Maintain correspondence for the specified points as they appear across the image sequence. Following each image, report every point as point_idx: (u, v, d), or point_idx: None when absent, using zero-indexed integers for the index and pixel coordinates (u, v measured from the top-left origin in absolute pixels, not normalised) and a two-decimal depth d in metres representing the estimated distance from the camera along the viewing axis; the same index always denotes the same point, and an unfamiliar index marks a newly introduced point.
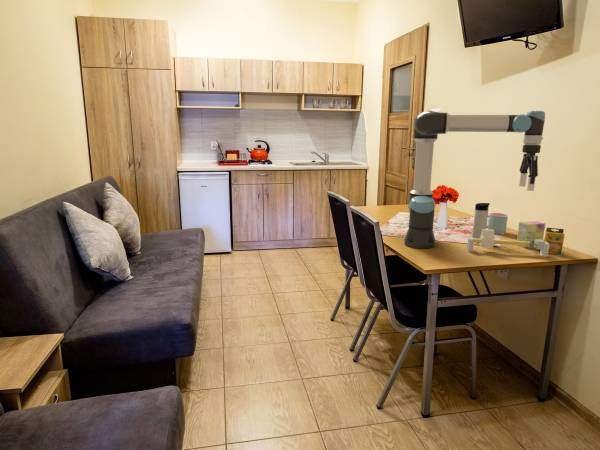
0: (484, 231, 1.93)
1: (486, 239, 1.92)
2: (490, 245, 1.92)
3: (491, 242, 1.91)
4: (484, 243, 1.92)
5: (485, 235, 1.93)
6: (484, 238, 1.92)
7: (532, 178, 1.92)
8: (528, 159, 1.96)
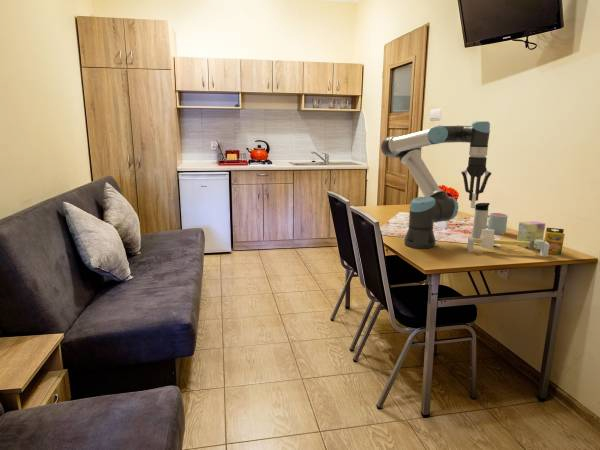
0: (484, 231, 1.93)
1: (486, 239, 1.92)
2: (490, 245, 1.92)
3: (491, 242, 1.91)
4: (484, 243, 1.92)
5: (485, 235, 1.93)
6: (484, 238, 1.92)
7: (469, 194, 1.91)
8: None
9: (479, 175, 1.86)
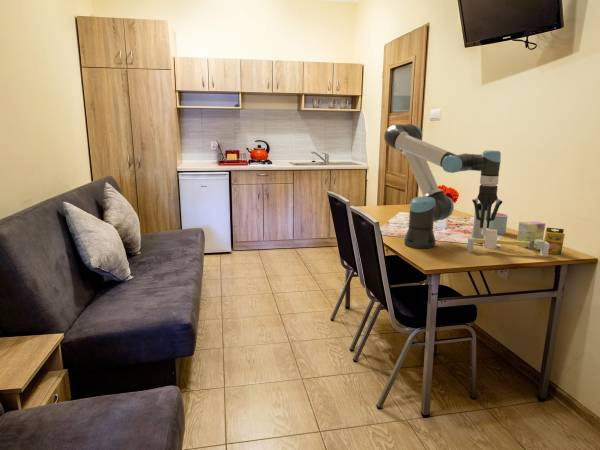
0: (487, 232, 1.92)
1: (489, 239, 1.91)
2: (493, 245, 1.92)
3: (494, 242, 1.91)
4: (487, 243, 1.92)
5: (488, 235, 1.93)
6: (487, 238, 1.91)
7: (480, 222, 1.93)
8: None
9: (490, 203, 1.88)
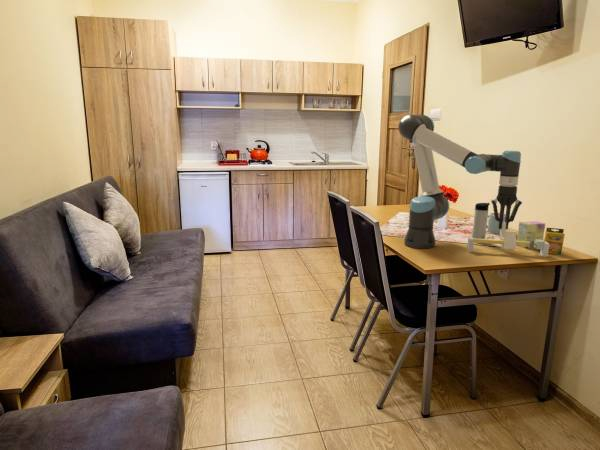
0: (506, 233, 1.91)
1: (508, 240, 1.90)
2: (512, 246, 1.90)
3: (513, 243, 1.89)
4: (506, 244, 1.90)
5: (507, 236, 1.91)
6: (506, 239, 1.90)
7: (499, 223, 1.91)
8: None
9: (509, 204, 1.86)
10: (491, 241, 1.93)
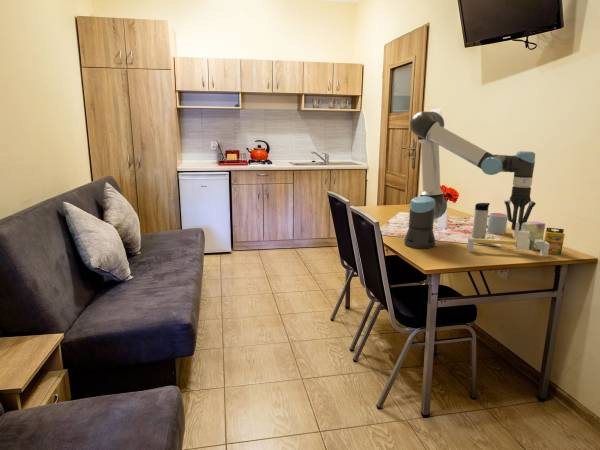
0: (519, 233, 1.90)
1: (521, 241, 1.88)
2: (525, 247, 1.89)
3: (527, 244, 1.88)
4: (519, 245, 1.89)
5: (520, 237, 1.90)
6: (519, 240, 1.88)
7: (512, 223, 1.90)
8: None
9: (523, 205, 1.85)
10: (491, 241, 1.93)
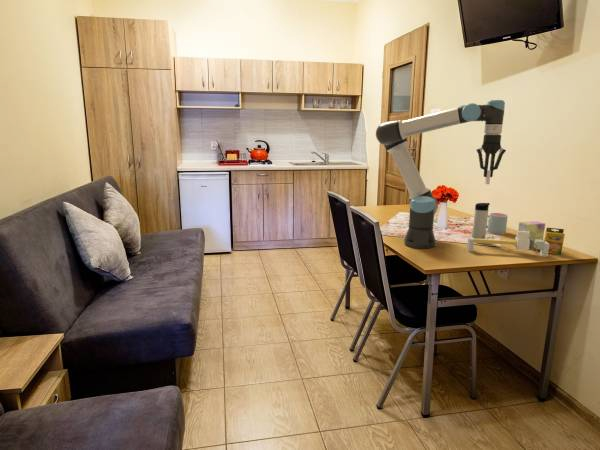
0: (519, 233, 1.90)
1: (522, 241, 1.88)
2: (526, 247, 1.89)
3: (527, 244, 1.88)
4: (519, 245, 1.89)
5: (520, 237, 1.90)
6: (520, 240, 1.88)
7: (484, 171, 1.99)
8: None
9: (494, 152, 1.95)
10: (491, 241, 1.93)
